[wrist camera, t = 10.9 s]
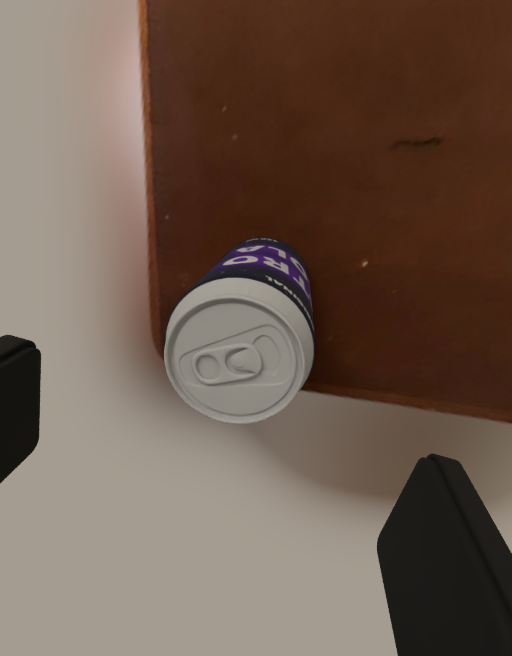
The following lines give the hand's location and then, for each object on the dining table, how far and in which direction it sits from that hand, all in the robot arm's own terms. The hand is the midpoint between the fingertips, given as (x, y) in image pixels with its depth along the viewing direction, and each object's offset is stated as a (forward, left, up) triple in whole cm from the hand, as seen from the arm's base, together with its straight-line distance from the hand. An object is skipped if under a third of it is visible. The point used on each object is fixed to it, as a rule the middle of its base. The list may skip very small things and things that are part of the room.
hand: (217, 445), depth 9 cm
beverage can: (0, 0, -16) cm, 16 cm away
